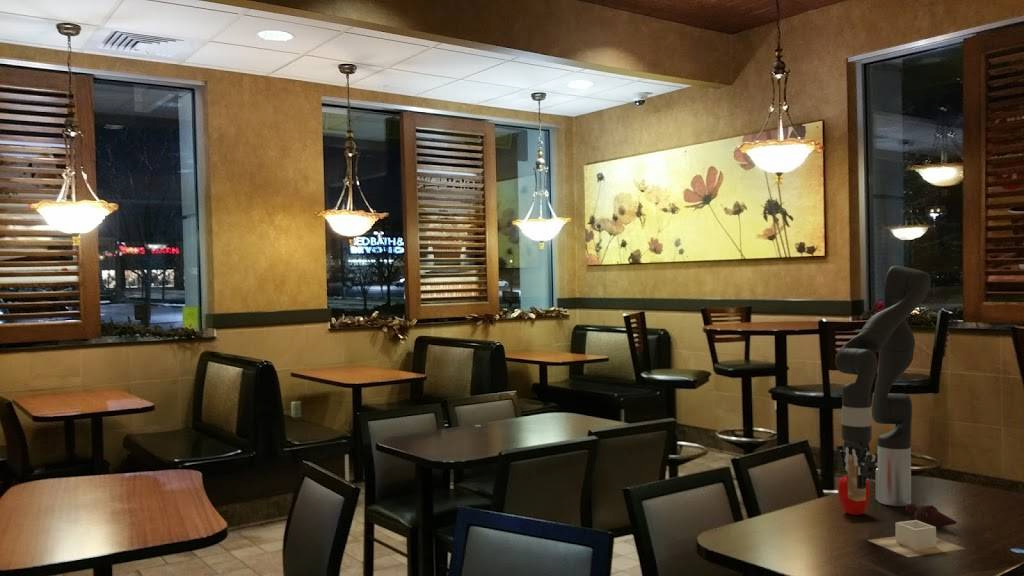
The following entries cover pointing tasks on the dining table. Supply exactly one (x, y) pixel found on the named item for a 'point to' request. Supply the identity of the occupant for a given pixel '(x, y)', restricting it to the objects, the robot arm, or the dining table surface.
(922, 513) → the icecream
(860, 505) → the apple
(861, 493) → the square wooden post
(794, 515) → the dining table surface
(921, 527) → the white square box
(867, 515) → the dining table surface
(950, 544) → the wooden board
